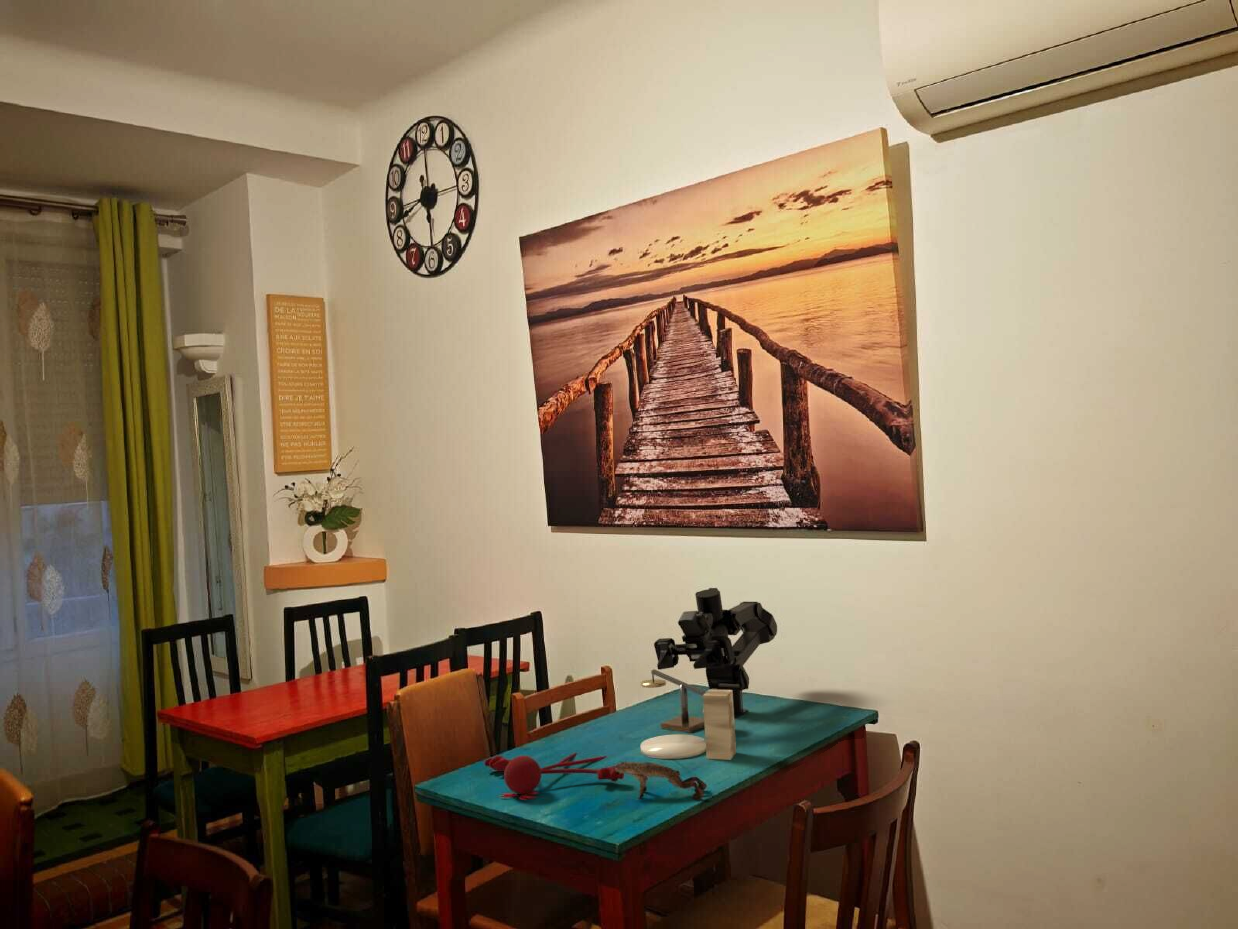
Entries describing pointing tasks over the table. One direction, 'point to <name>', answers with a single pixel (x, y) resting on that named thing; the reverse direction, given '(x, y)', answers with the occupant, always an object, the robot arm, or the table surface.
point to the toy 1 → (541, 772)
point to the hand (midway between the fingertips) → (676, 667)
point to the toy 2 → (658, 770)
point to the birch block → (719, 724)
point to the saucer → (673, 746)
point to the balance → (683, 721)
